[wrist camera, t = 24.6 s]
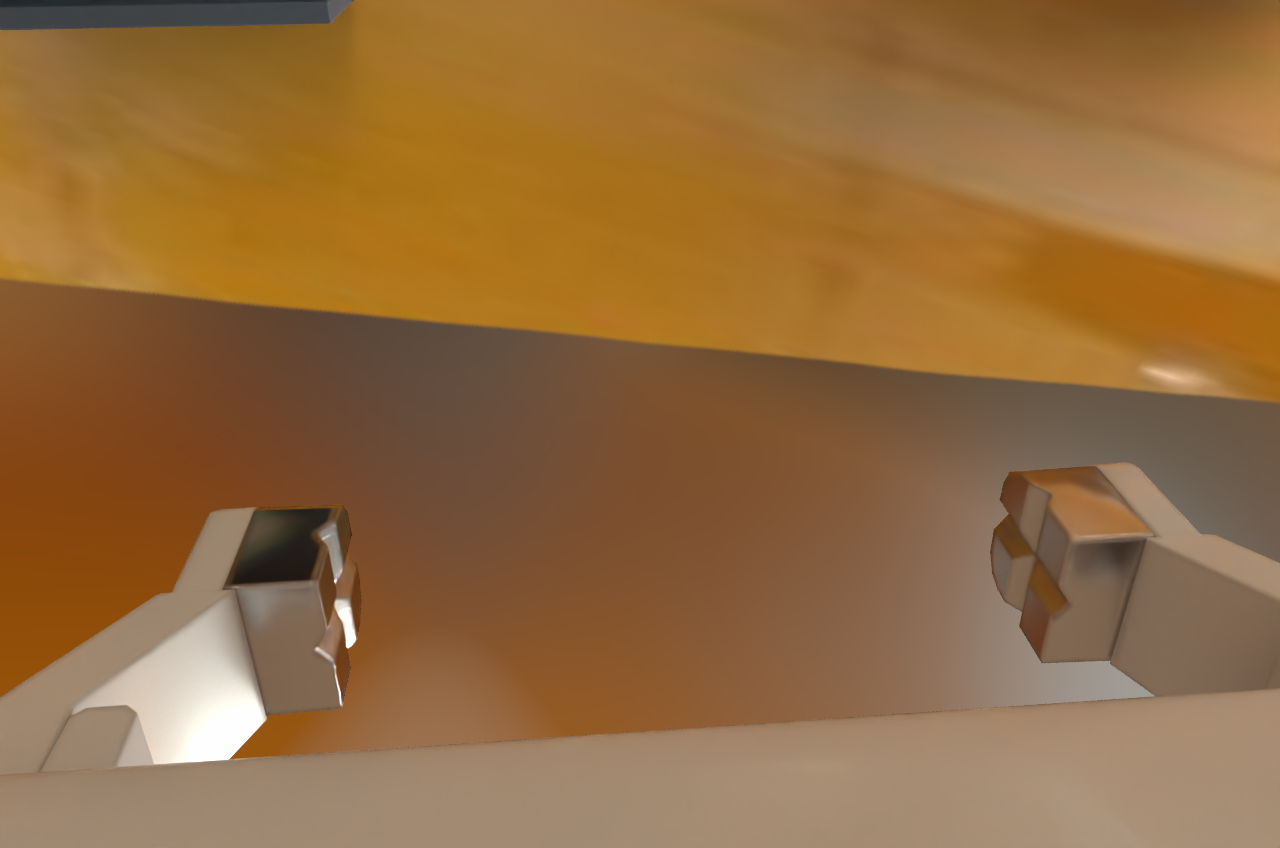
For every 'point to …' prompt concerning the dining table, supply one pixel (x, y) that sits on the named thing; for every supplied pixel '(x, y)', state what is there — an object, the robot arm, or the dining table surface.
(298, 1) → the crate
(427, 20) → the dining table surface
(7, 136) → the dining table surface
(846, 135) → the dining table surface
